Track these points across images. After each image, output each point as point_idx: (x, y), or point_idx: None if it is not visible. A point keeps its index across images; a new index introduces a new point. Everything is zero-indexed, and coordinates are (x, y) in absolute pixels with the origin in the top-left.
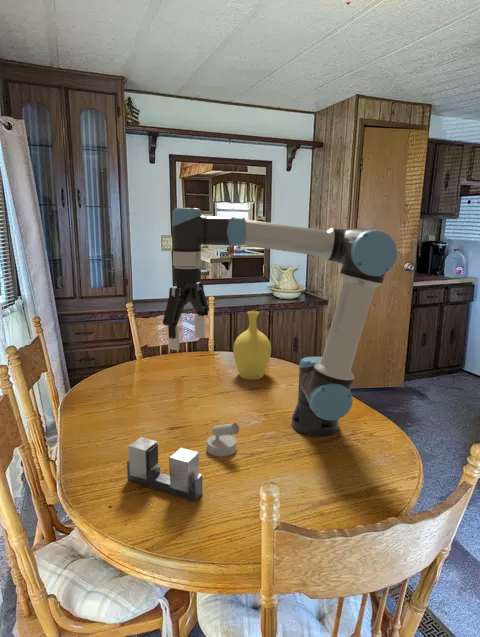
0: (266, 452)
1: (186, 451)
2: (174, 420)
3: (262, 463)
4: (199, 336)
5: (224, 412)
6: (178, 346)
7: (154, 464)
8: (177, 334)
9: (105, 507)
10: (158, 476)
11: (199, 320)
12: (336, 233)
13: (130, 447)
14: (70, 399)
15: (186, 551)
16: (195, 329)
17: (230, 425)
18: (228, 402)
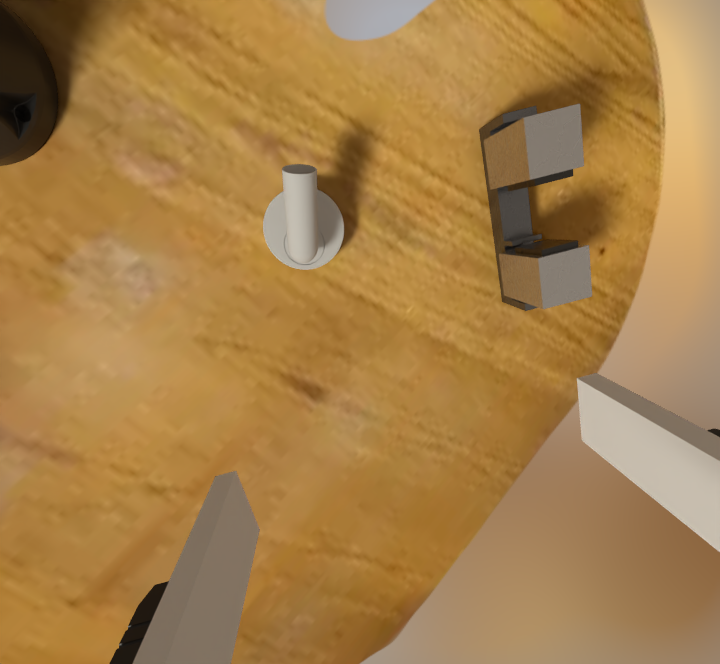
0: (234, 115)
1: (538, 150)
2: (283, 419)
3: (287, 89)
4: (244, 505)
5: (148, 361)
6: (607, 386)
7: (531, 244)
8: (717, 438)
9: (608, 256)
10: (517, 231)
11: (201, 653)
12: None
13: (589, 290)
14: (377, 643)
15: (629, 25)
16: (245, 582)
17: (308, 180)
18: (89, 397)
